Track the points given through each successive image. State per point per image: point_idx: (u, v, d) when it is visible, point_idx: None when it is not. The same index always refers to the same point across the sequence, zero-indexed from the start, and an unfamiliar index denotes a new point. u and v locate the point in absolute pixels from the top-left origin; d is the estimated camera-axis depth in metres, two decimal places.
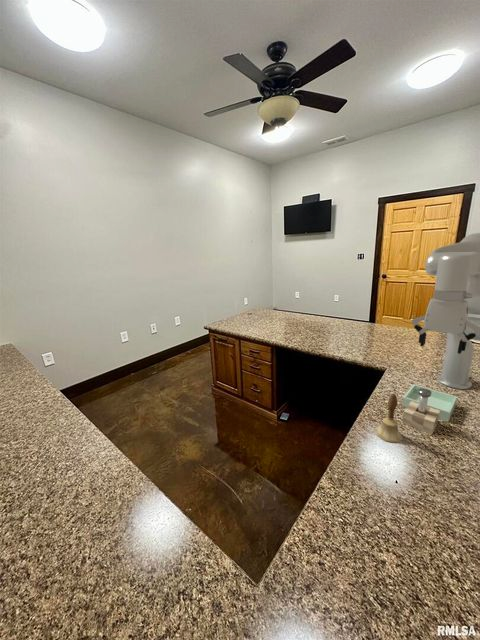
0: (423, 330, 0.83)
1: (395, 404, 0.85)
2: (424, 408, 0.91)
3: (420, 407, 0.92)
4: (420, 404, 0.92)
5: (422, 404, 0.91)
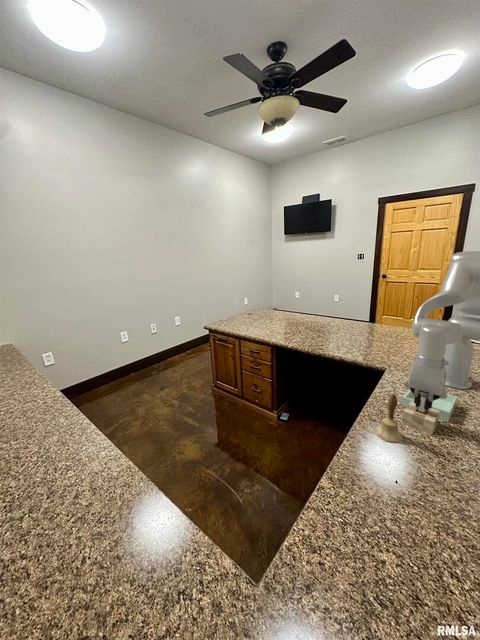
0: (416, 392, 0.92)
1: (395, 404, 0.85)
2: (424, 408, 0.91)
3: (420, 407, 0.92)
4: (420, 404, 0.92)
5: (422, 404, 0.91)
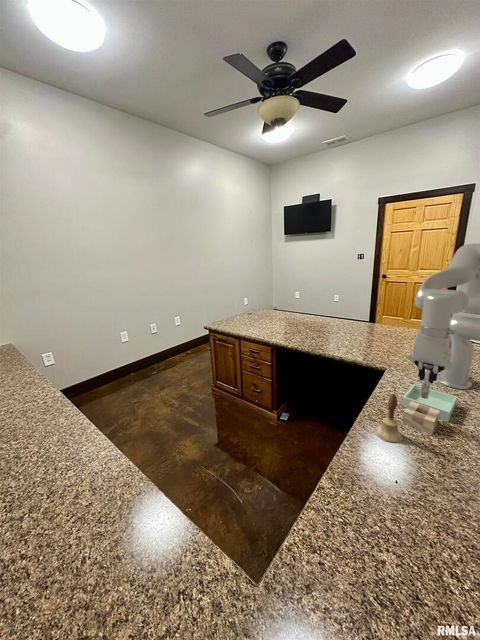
0: (420, 365, 0.89)
1: (395, 404, 0.85)
2: (428, 381, 0.89)
3: (424, 380, 0.89)
4: (424, 377, 0.89)
5: (426, 377, 0.89)
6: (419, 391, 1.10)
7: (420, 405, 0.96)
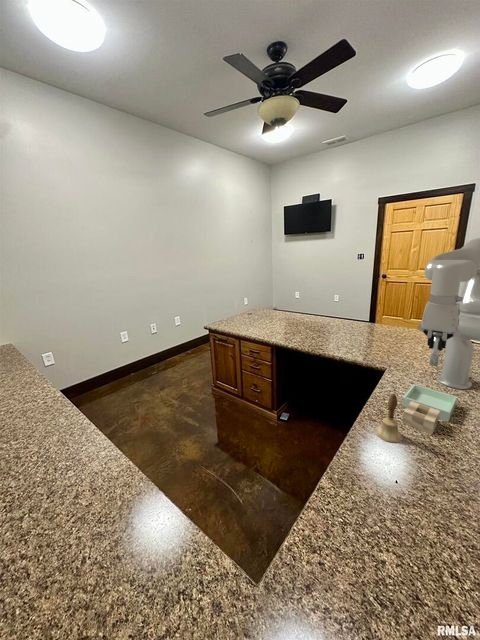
0: (429, 333, 0.92)
1: (395, 404, 0.85)
2: (437, 349, 0.92)
3: (433, 348, 0.93)
4: (433, 345, 0.93)
5: (435, 345, 0.92)
6: (419, 391, 1.10)
7: (420, 405, 0.96)
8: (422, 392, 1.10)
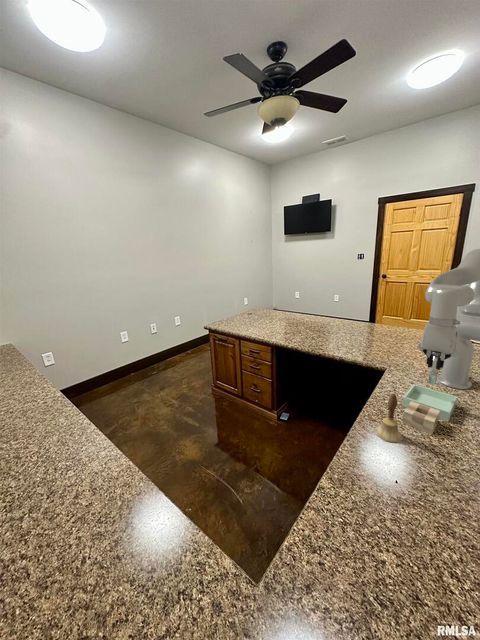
0: (428, 353, 0.98)
1: (395, 404, 0.85)
2: (436, 367, 0.98)
3: (432, 367, 0.98)
4: (432, 364, 0.98)
5: (434, 364, 0.98)
6: (419, 391, 1.10)
7: (420, 405, 0.96)
8: (422, 392, 1.10)
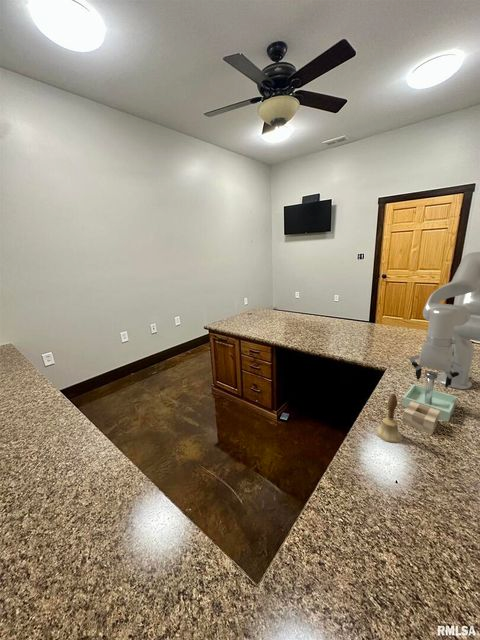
0: (419, 367, 1.02)
1: (395, 404, 0.85)
2: (431, 389, 1.01)
3: (427, 388, 1.01)
4: (427, 385, 1.01)
5: (429, 385, 1.01)
6: (419, 391, 1.10)
7: (420, 405, 0.96)
8: (422, 392, 1.10)
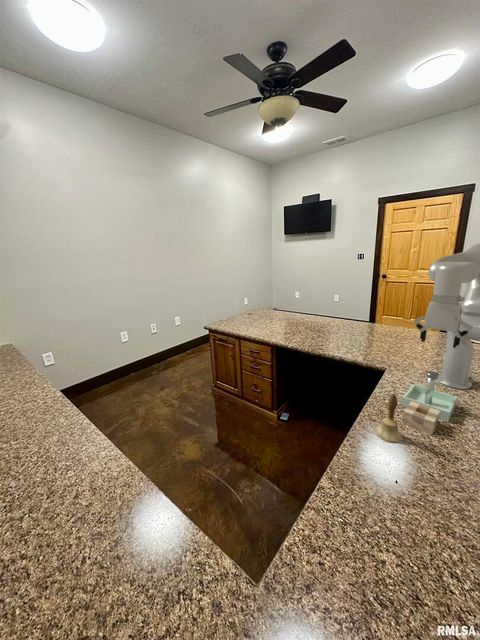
0: (424, 328, 0.98)
1: (395, 404, 0.85)
2: (432, 389, 1.01)
3: (428, 388, 1.01)
4: (428, 385, 1.01)
5: (429, 385, 1.01)
6: (419, 391, 1.10)
7: (420, 405, 0.96)
8: (422, 392, 1.10)
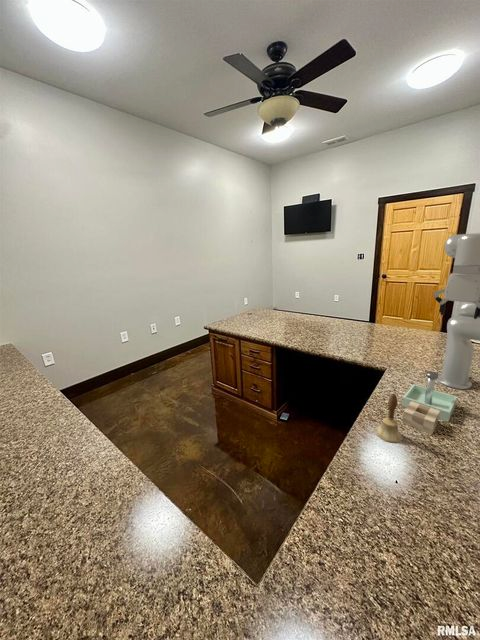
0: (443, 301, 0.98)
1: (395, 404, 0.85)
2: (432, 389, 1.01)
3: (428, 389, 1.01)
4: (428, 386, 1.01)
5: (429, 386, 1.01)
6: (419, 391, 1.10)
7: (420, 405, 0.96)
8: (422, 392, 1.10)
